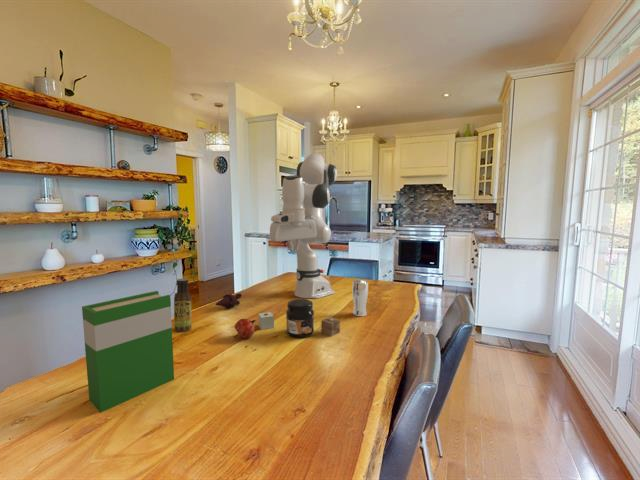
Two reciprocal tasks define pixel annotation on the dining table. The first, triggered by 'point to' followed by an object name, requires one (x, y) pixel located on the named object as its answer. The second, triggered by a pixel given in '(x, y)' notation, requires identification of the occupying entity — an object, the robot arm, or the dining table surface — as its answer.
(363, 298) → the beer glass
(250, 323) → the pomegranate
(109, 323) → the hardback book
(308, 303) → the supplement container
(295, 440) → the dining table surface
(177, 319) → the sauce bottle
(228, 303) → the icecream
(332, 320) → the walnut cube
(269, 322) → the sage cube
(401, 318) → the dining table surface
